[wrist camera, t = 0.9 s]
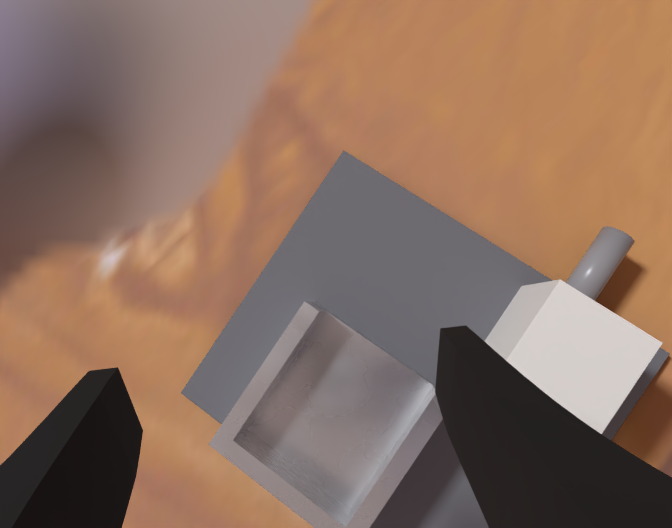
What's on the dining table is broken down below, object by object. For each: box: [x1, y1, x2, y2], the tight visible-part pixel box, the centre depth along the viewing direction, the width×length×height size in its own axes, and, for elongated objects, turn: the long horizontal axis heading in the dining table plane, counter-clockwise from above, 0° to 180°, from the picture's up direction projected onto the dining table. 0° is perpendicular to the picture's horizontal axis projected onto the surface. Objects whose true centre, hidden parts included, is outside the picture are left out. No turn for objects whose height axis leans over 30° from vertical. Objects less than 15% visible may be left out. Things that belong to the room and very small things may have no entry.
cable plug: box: [485, 227, 662, 434], centre depth 20 cm, size 4×8×6 cm, turn 146°
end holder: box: [208, 301, 443, 528], centre depth 22 cm, size 8×8×3 cm
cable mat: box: [181, 151, 669, 528], centre depth 23 cm, size 18×15×1 cm
